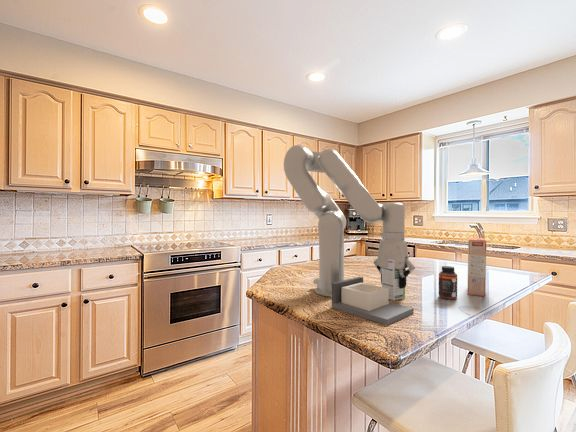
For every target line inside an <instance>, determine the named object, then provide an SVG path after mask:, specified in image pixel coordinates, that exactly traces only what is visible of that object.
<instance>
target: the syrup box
mask: <svg viewBox="0 0 576 432" xmlns="http://www.w3.org/2000/svg"><path fill="white" fill-rule="evenodd" d="M388 261H389V264H388V267H382V284H381V287H384V288H389V300H391V301H396V300H397V301H398V300H403V299H405V298H406V287H405V288H402V289H401V288H399V278H400V277H401V275H400V272H399V270H397V269H395V261H394V260H393V259H389V260H388ZM388 261H387V262H388Z"/></svg>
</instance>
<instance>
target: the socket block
mask: <svg viewBox="0 0 576 432" xmlns="http://www.w3.org/2000/svg"><path fill="white" fill-rule="evenodd" d="M389 300H390V299H389V288H384V287H382V286H379V285H376V284H375V285H374V284H370V283H365V282H363V283H357V284H353V285H349V286H345V287H341V303H344V304H347V305H351V306H354V307H357V308H361V309H364V310H368V311H371V310H373V309H376V308H379V307H381V306H384V305H387V304H389V302H390V301H389Z"/></svg>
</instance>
